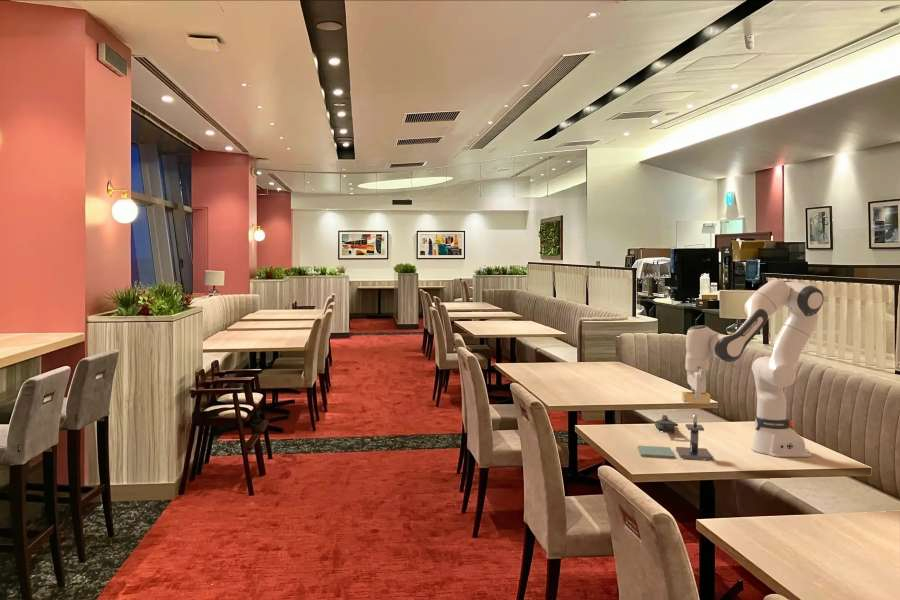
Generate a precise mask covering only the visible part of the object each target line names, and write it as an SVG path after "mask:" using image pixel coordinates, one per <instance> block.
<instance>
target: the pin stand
mask: <svg viewBox="0 0 900 600" xmlns="http://www.w3.org/2000/svg"><path fill="white" fill-rule="evenodd" d="M685 427H686V429H687V430H688V431H690V438H689V439H690V440H689V441H690V443H689V447H687V446H685V447H684V446H683V447H682V446H675V447H676V448H675V451H676V452H677V454H678V456H679V457H680V459H681V458H686V459H685V460H697V459H705V460H704V461H713V455H712V454H711V453H710V451H709V450H708V449H707V448H704V447H703V448H702V447H701V448H700V447H699V431H700V432H704V431H705V428H704V427H703V425H702V424H698V415H697V414H693V416H692V424H690V423H686V424H685Z"/></svg>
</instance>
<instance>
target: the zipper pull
mask: <svg viewBox="0 0 900 600" xmlns="http://www.w3.org/2000/svg"><path fill="white" fill-rule="evenodd" d="M655 426H656V427H655ZM678 426H679V424H678V423H676V422H674V421H673V420H672V419H670V420H669V417H668V415H665V414H662V415H661V419H658V420H656V421H654V427H655V428H656V429H657V431H658V430H659V431H658V432H660V431H663V432H662V433H666V432H672V433H675V428H674V427H678Z"/></svg>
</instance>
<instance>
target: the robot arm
mask: <svg viewBox="0 0 900 600" xmlns="http://www.w3.org/2000/svg"><path fill="white" fill-rule="evenodd" d="M824 296H825V295H824V293H823V291H822V290H820V289H819V288H818V287H816V286H813V285H809V284H806V283H803V282H797V281H790V280H781V279H777V278H776V279H771V280H770V281H768V282H766V283H765V284H764V285H762V286H761V287H759V288H758V289H757V290H756V291H754V293H752V294H751V295H750V296H749V298H748V299H747V300H746V301H745V303H744V308H743V310H744V313H745V314H746V316H747V318H746V319H745V321H744V322H743V323H742V324H741V325H740V326H739V328H738V329H737V330H735V332H734V333H732V334H728V335H726V334H722V333H720V332H717V331H714V330H713V329H711V328H710V327H708V325H705V324H703V325H700V324H699V325H692V326H690V327H689V328H688V329H687V332H686V338H685V349H686V355H685V361H684V362H685V363H684V367H685V369H684V370H686V378H687V379H686V380H687V384H688V385H689V386H690V387H691V388H690V389H691V392H695V393H696V394H695V400H696V401H700V397H701V392H705V393H706V391H707V382H706V381H707V375H706V372H708V371H709V368H710V366H709V365H710V364H709V363H710V362H709V361H710V357H715V358H717V359H720V360H722V361H724V362H727V363H732V362H735V361H738V360H739V359H740V358H741V357H742V355H743V354H744V351H745V349H746V347H747V346H748V344H750V342H751V341H752V340H753V339H754V338H755V336H756V335H758V334H759V332H760V331H761V330H762V329H763V328H764V326H765V325H766V324H767V322H768V320H769V319H770V318H771V317H772V316H773V315H774V314H775V313H777V311H778V310H779V309H780V308H782V306H783V307H786V308H787V309H790V310H789V315H788V316H787V318H786V319H785V321H784V323H783V325H782V326H781V328H780V329H779V331H778V333H777V335H776V336H775V338H774V341H773V345H774V346H773V349H772V353H771V356H767V355H766V356H760V357H757V358H756V359H755V360H754V361H752V363H751V371H752V374H753V377H754V384H755V390H756V399H757V401H756V415H755V419H754V430H755V431H754V436H753V437H754V438H753V442H752V445H751V450H752V451H755V452H757V453H761V454H764V455H768V456H772V457H779V458H787V457H788V458H790V457H791V458H792V457H793V458H810V457H812V452H811V451H810V450H809V449H808V448H806V444H805V440H804V438H803V437H802V436H801V435H800V434H798V433H797V431H795V430H794V429H793V428H791V427H794V426H795V424H796V423H795V421H793V420H790V419H788V418H787V397H786V396H785V391H784V388H788V387H790V386H792V385H793V384H794V383H795V381H796V380H797V371H796V370H797V366H798V363H799V360H800V357H801V354H802V351H803V350H804V348H805V347H806V345H807V343H808V341H809V339H810V337H811V336H812V334H813V332H814V330H815V327H816V326H817V322H818V319H819V315H818V312H819V311H820V310H821V308H822V305H823V303H824V299H825V298H824Z"/></svg>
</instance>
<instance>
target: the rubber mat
mask: <svg viewBox="0 0 900 600" xmlns="http://www.w3.org/2000/svg"><path fill="white" fill-rule="evenodd" d="M637 449H638V450H637V451H638V452H639V454H640V457H641V456H647V457H646V458H658V457H662V458H661V459H675V457H676V456H675V454H674V453H673V450H672V449H671V447H670V446H668V447H667V446H653V445H637ZM649 456H650V457H649Z"/></svg>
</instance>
